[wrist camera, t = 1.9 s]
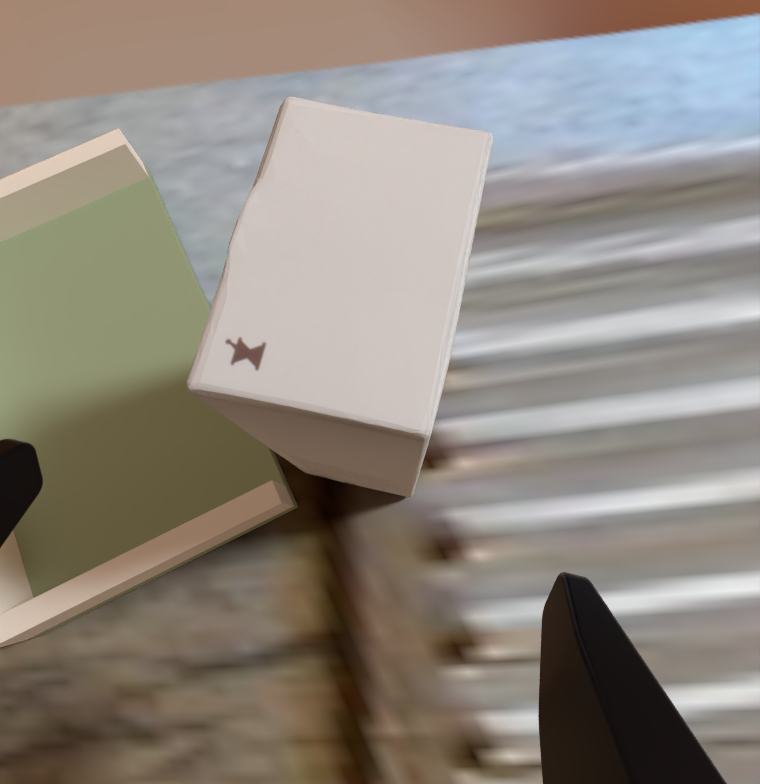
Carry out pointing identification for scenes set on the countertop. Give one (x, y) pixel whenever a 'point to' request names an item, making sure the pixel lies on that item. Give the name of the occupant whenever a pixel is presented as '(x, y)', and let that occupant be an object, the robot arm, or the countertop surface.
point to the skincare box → (345, 291)
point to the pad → (110, 393)
